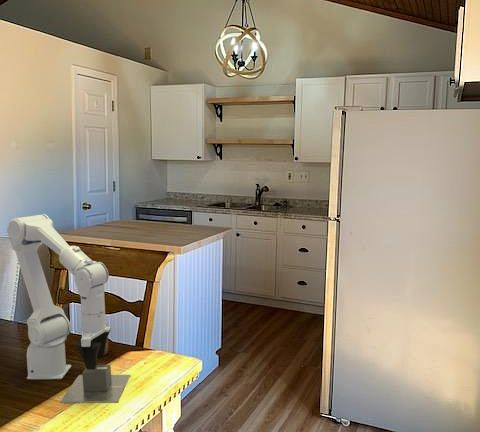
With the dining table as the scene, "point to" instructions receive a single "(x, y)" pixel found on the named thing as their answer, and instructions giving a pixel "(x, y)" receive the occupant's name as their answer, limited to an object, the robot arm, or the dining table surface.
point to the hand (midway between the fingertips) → (95, 362)
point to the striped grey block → (97, 378)
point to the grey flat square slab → (109, 396)
